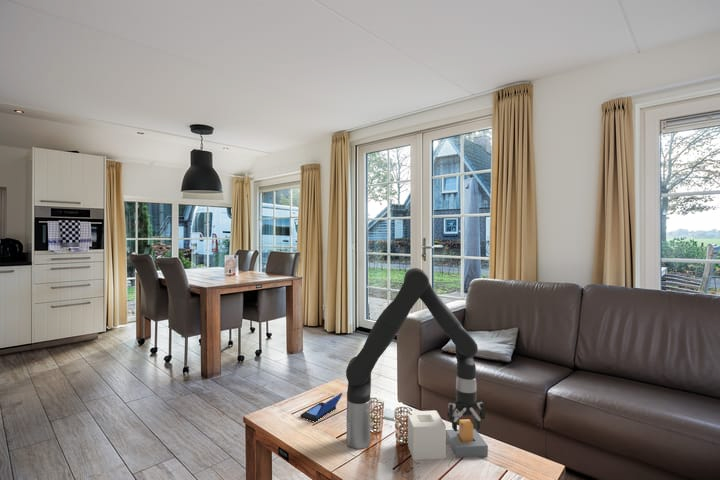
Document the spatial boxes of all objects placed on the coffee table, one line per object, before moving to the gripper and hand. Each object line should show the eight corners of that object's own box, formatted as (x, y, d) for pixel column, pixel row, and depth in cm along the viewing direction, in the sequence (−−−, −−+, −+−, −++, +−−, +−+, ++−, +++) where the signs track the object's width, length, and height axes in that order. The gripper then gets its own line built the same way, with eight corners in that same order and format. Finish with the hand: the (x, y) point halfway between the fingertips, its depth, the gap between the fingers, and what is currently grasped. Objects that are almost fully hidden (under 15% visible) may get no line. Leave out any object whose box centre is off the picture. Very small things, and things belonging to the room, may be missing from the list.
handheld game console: (321, 404, 176) (321, 385, 176) (343, 411, 169) (343, 392, 169) (299, 418, 163) (299, 397, 163) (322, 426, 156) (322, 404, 156)
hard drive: (369, 412, 166) (395, 418, 160) (376, 405, 173) (401, 410, 168) (369, 416, 166) (395, 422, 160) (376, 408, 173) (401, 414, 168)
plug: (462, 448, 138) (462, 424, 138) (459, 442, 142) (459, 419, 142) (473, 447, 138) (473, 424, 138) (469, 442, 142) (469, 419, 142)
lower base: (456, 457, 133) (456, 447, 133) (445, 439, 145) (445, 429, 145) (487, 456, 134) (487, 445, 134) (474, 438, 146) (474, 428, 146)
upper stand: (413, 460, 132) (413, 427, 132) (406, 441, 144) (406, 411, 144) (445, 458, 133) (445, 425, 133) (435, 440, 145) (436, 410, 145)
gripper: (451, 392, 135) (451, 436, 136) (488, 391, 137) (488, 434, 137) (445, 384, 143) (444, 425, 143) (480, 383, 144) (479, 424, 144)
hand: (466, 429), depth 140 cm, fingers open, 8 cm apart
